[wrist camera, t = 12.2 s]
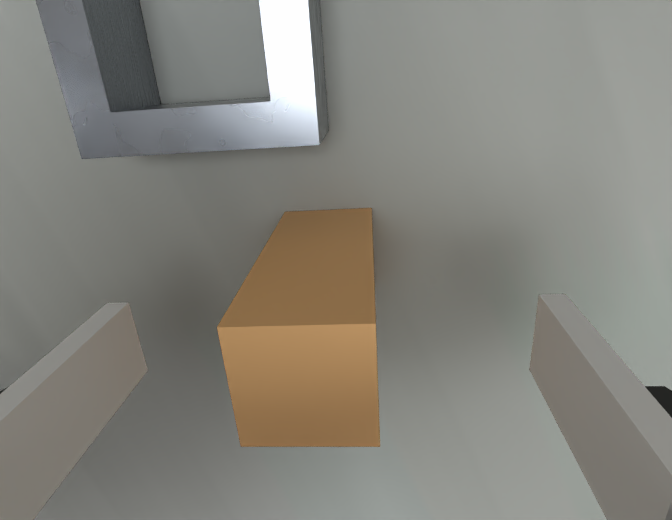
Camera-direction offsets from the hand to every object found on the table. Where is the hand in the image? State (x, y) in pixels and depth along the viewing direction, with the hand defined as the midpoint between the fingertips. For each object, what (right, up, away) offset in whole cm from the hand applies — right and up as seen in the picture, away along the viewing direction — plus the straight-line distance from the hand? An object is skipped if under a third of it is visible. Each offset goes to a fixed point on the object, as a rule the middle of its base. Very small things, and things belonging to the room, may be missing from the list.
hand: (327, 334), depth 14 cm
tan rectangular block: (0, +3, +7) cm, 7 cm away
